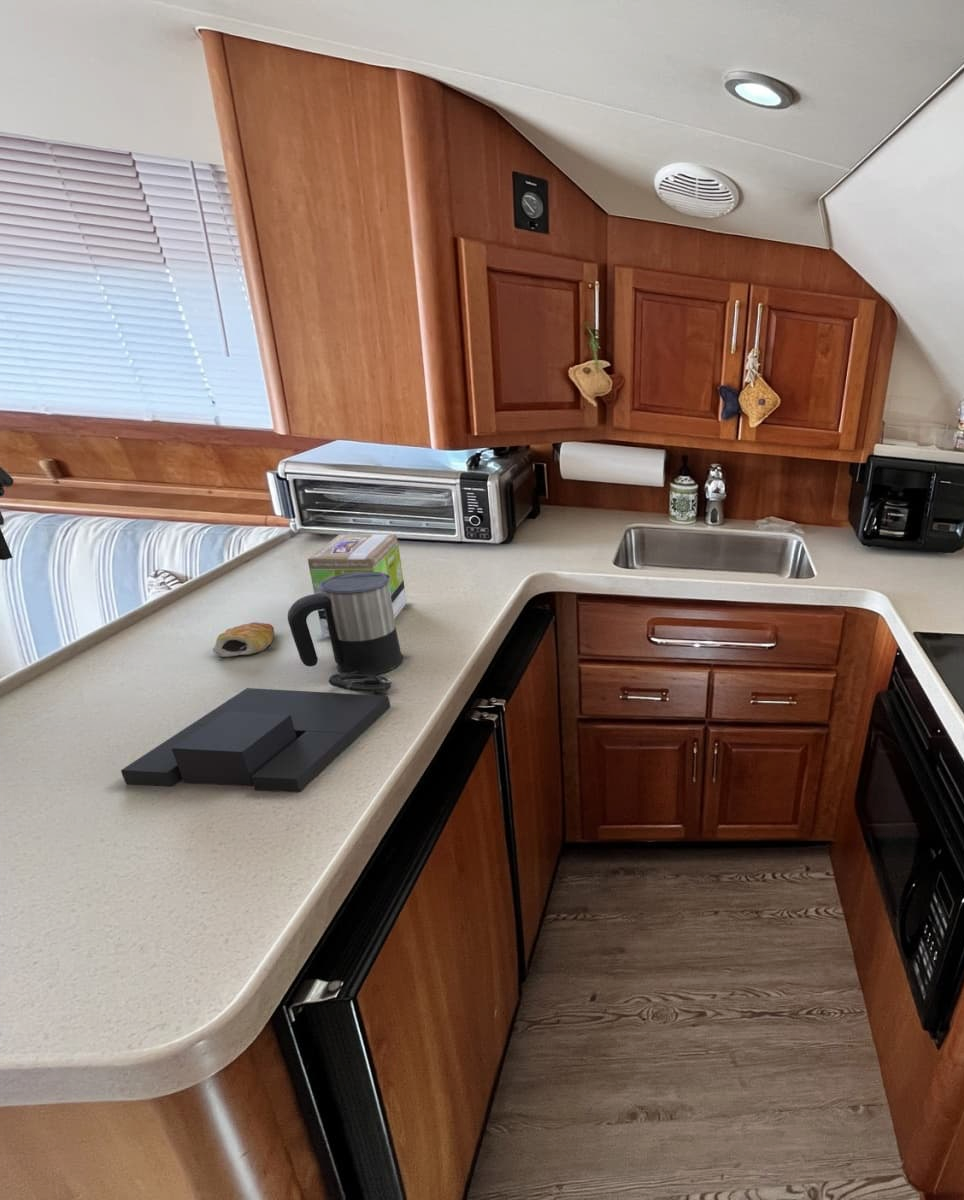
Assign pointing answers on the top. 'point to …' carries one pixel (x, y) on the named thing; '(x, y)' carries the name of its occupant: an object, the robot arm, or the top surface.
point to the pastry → (244, 639)
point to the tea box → (359, 565)
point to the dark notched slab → (320, 740)
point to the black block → (233, 747)
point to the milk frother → (352, 629)
